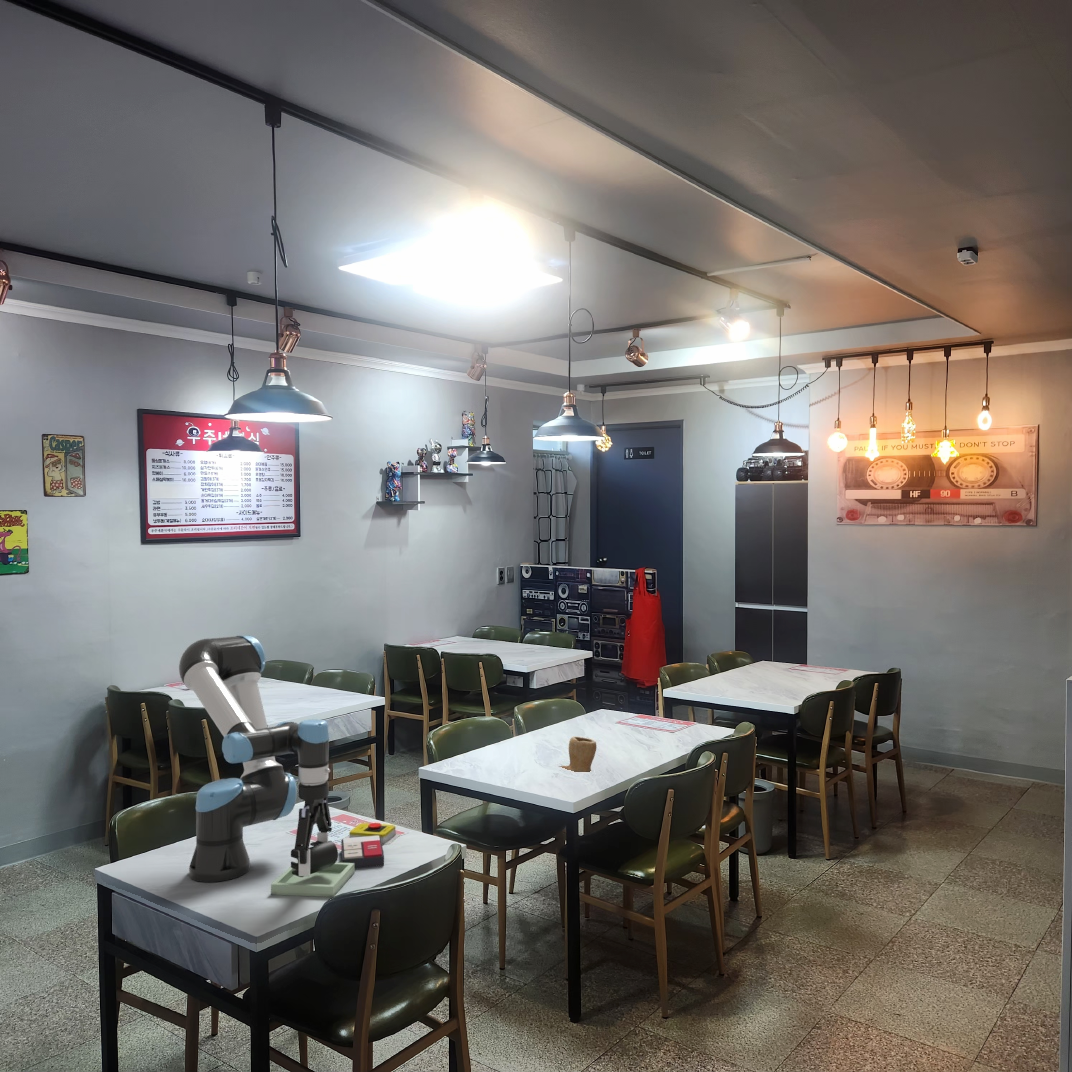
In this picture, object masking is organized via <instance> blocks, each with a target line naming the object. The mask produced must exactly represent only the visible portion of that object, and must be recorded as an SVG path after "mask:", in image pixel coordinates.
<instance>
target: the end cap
mask: <svg viewBox="0 0 1072 1072" xmlns="http://www.w3.org/2000/svg"><path fill="white" fill-rule="evenodd" d="M310 846H311V847H310ZM309 849H310V874H313V873H315V872H318V871H321V870H323V869H326V868H329V867H331V866H332V865H333V864H335V863H337V862H338V858H339V850H338V847H337V845H336V844H335V842H333V841H332V840H328V842H325V843H324V842H321V841H317V840H316V841H312V842H310V844H309ZM290 857H291V858H294V859H296V861H298V863H295V862H296V861H291V862H290V866H291V868H293V869H296V870H293V871H292V874H293V875H296V876H298V877H304V876H299V850H295V847H294V848H292V849H291V851H290Z"/></svg>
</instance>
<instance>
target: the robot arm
mask: <svg viewBox="0 0 1072 1072" xmlns="http://www.w3.org/2000/svg"><path fill="white" fill-rule="evenodd" d="M181 655H182V656H181V657H180V660H179V664H178V672H179V673H178V674H179V677H180V679H181V681H182V683H183V684H184V686H185V687H186V689H188V690H189V691H193V692H194V693H195V695H196V697H197V698H198V700H199V701H200V703H201V704H202V705H203V707H204V709H205V711H206V712H207V714H208V715H209V717H210V719H211V720H212V721H213V723H214V724H215V726H216V727H217V729H218V730H219V732H220V734H221V735H222V736H223V739H222V744H221V751H222V753H223V758H224V759H225V761H226V762H228V763H229V764H238V763H239V764H240V763H241V764H242V765H243V773H242V774H241V776H240V778H238V777H229V778H221V779H217V780H214V781H211V782H208V783H206V784H204V785H203V786H201V787H200V789H198V791H197V793H196V801H195V802H196V803H195V807H194V808H195V820H196V821H195V823H196V824H195V827H196V828H195V829H196V830H195V832H196V833H195V835H196V836H195V837H196V838H195V839H196V844H195V848H194V851H193V854H192V858H191V860H190V864H189V867H188V869H189V870H188V871H189V872H188V873H189V875H188V876H189V878H190V879H191V880H193V881H196V882H202V883H216V882H224V881H229V880H232V879H236V878H238V877H241V876H244V875H245V874H247V873H248V872H249V870H250V868H251V867H250V865H251V863H250V861H251V860H250V857H249V854H248V851H247V848H246V845H245V841H244V839H243V838H244V831H243V830H244V829H243V828H245V827H250V826H253V825H257V824H262V823H265V822H270V821H277V820H278V819H281V818H284V817H287V816H288V815H290V814H291V813H292V812H293V810H294V808H295V806H296V802H297V797H298V798H299V799H300V800H303V801H304V805H303V808H299V809H298V819H297V820H298V822H297V826H296V827H297V829H296V834H295V835H296V836H295V842H294V848H295V850H299V876H310V849H309V848H310V843H311V840H312V839H311V838H312V835H313V829H314V825H315V824H316V828H317V830H318V832H317V833H316V836H317V839H316V841H321V842H324V843H325V842H328V841H329V833H331V832H332V830H333V827H332V824H333V823H332V819H331V814H330V807H329V801H328V800H329V798H328V797H329V795H330V793H329V792H330V791H329V790H330V789H329V788H330V787H329V786H330V785H329V784H330V783H329V781H328V780H329V773H330V772H331V769H330V768H329V758H330V757H329V755H330V754H329V752H330V748H329V747H330V744H329V743H330V732H329V724H328V722H327V721H326V720H325V719H313V718H312V719H307V720H302V721H301V722H299V723H297V722H294V721H282V722H279V723H278V724H277V725H275V726H271V727H270V726H269V727H268V722H267V718H266V715H265V710H264V705H263V702H262V701H263V700H262V697H261V693H260V690H259V689H260V688H259V684H258V682H259V681H260V679H261V677H262V672H263V671H264V670H265V667H266V662H265V661H266V654H265V650H264V648H263V645H262V644H261V642H260V641H259V639H257V638H256V637H254V636H250V635H236V636H227V637H226V636H224V637H213V638H202V639H200V640H196V641H195V642H193V643H191V644H190V645H189V646H188V647H187V648H186V649H185V650H184V652H183V653H182V654H181ZM288 754H293V755H297V757H298V765H297V766H298V768H297V769H298V770H297V771H298V773H297V775H298V777H297V781H298V782H299V784H298V788H297V783H296V779H295V778H294V776H293V775H292V774H291V773H290V772H285V771H284V766H283V765H282V764H281V763H279V762H277V761H276V757H277V756H282V755H288ZM297 795H298V796H297Z"/></svg>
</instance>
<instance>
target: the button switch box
mask: <svg viewBox="0 0 1072 1072" xmlns="http://www.w3.org/2000/svg"><path fill="white" fill-rule="evenodd" d="M340 842H341V843H340V844H341V849H340V850H341V863H354V865H355V869H363V868H373V867H384V866H385V854H384V848H383V844H382V841H381V836H379V835H377V836H366V837H354V838H345V837H344V838H342V839H341V841H340Z"/></svg>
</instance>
